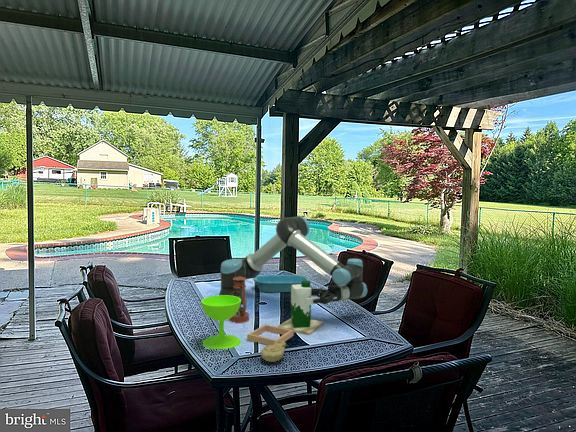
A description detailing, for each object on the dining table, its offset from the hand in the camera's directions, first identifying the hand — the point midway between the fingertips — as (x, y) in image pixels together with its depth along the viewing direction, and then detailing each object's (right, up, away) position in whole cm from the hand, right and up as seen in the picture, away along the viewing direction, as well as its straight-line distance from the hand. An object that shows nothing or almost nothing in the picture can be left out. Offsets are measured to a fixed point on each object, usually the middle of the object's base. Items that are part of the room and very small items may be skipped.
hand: (298, 297), depth 180 cm
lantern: (-29, -13, +10) cm, 33 cm away
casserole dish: (-9, -9, +70) cm, 71 cm away
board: (+1, -14, +2) cm, 14 cm away
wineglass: (-32, -15, -19) cm, 40 cm away
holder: (-12, -15, -12) cm, 23 cm away
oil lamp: (-10, -16, -32) cm, 37 cm away
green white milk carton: (+1, -13, +1) cm, 13 cm away
